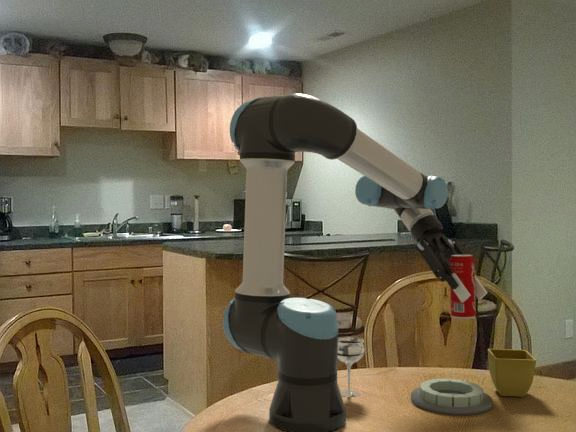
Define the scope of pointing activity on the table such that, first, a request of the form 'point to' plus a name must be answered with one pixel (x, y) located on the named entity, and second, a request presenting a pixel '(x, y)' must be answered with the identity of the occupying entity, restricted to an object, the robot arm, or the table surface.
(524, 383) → the flower pot
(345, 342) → the wineglass
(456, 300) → the beverage can
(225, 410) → the table surface
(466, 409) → the can tray
